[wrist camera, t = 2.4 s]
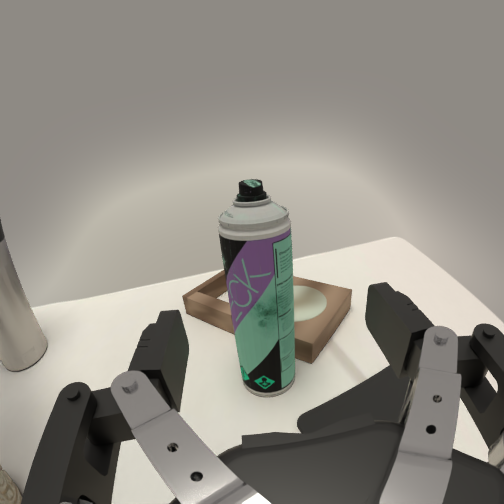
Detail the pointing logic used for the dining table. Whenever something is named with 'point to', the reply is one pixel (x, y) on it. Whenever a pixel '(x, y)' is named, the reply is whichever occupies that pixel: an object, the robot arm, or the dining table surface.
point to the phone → (360, 402)
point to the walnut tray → (305, 311)
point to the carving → (8, 490)
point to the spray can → (260, 288)
